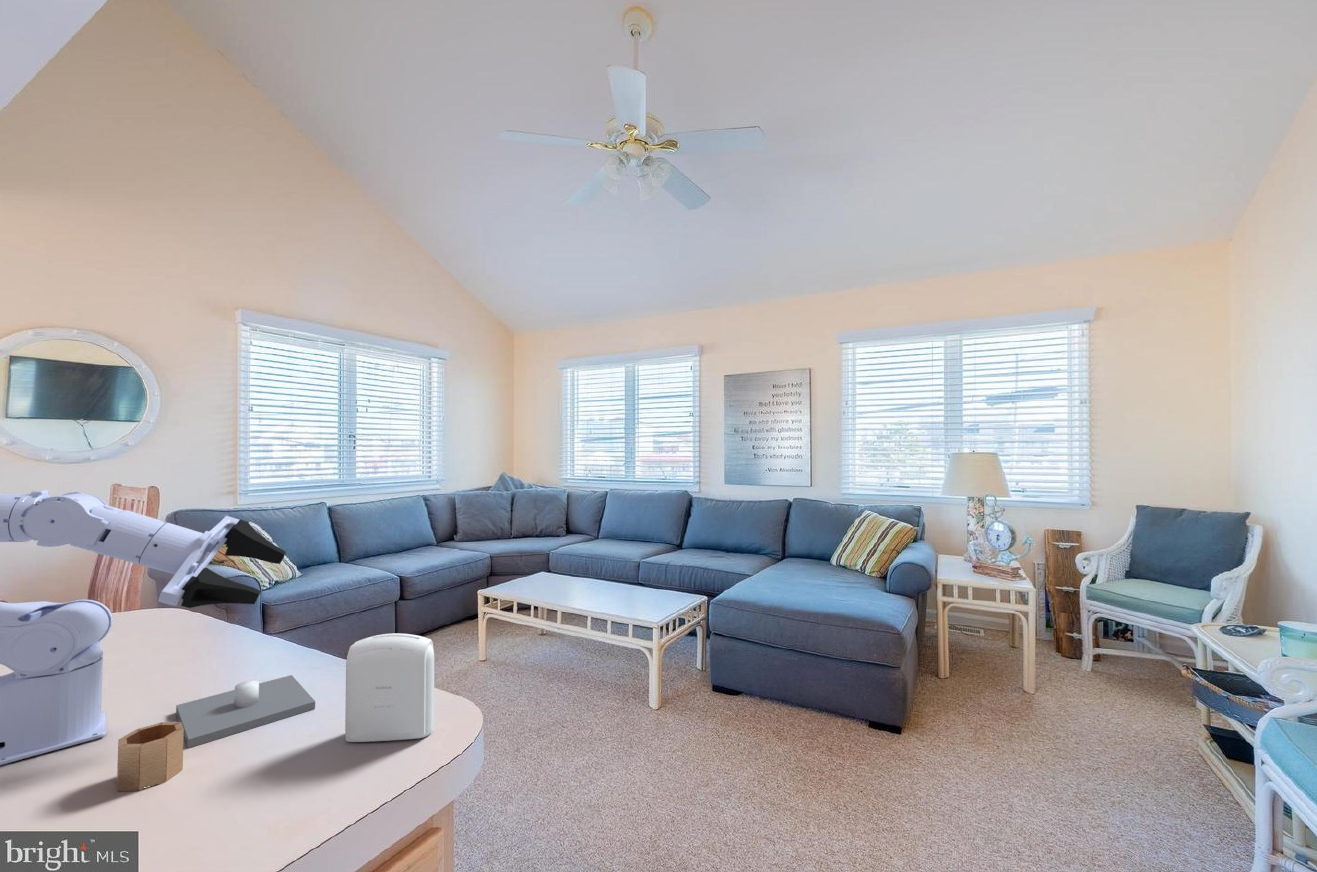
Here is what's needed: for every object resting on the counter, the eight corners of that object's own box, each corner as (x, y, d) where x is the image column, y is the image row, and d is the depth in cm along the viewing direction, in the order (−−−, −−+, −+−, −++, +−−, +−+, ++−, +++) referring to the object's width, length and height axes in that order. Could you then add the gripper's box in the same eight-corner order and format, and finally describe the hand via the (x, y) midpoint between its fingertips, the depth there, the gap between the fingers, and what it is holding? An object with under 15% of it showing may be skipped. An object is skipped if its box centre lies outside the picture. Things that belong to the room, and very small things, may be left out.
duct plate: (188, 747, 63) (189, 718, 63) (176, 712, 71) (176, 686, 71) (315, 708, 72) (315, 682, 72) (291, 681, 80) (292, 658, 80)
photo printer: (338, 746, 63) (340, 642, 64) (354, 727, 68) (357, 629, 68) (427, 742, 64) (429, 640, 65) (438, 723, 69) (440, 628, 69)
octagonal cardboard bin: (118, 797, 54) (119, 752, 54) (116, 776, 57) (117, 734, 57) (184, 775, 57) (185, 733, 57) (178, 756, 61) (179, 717, 61)
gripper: (122, 562, 61) (253, 598, 66) (196, 488, 73) (302, 523, 79) (109, 601, 63) (237, 633, 69) (183, 523, 76) (286, 555, 81)
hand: (271, 576), depth 74 cm, fingers open, 7 cm apart
